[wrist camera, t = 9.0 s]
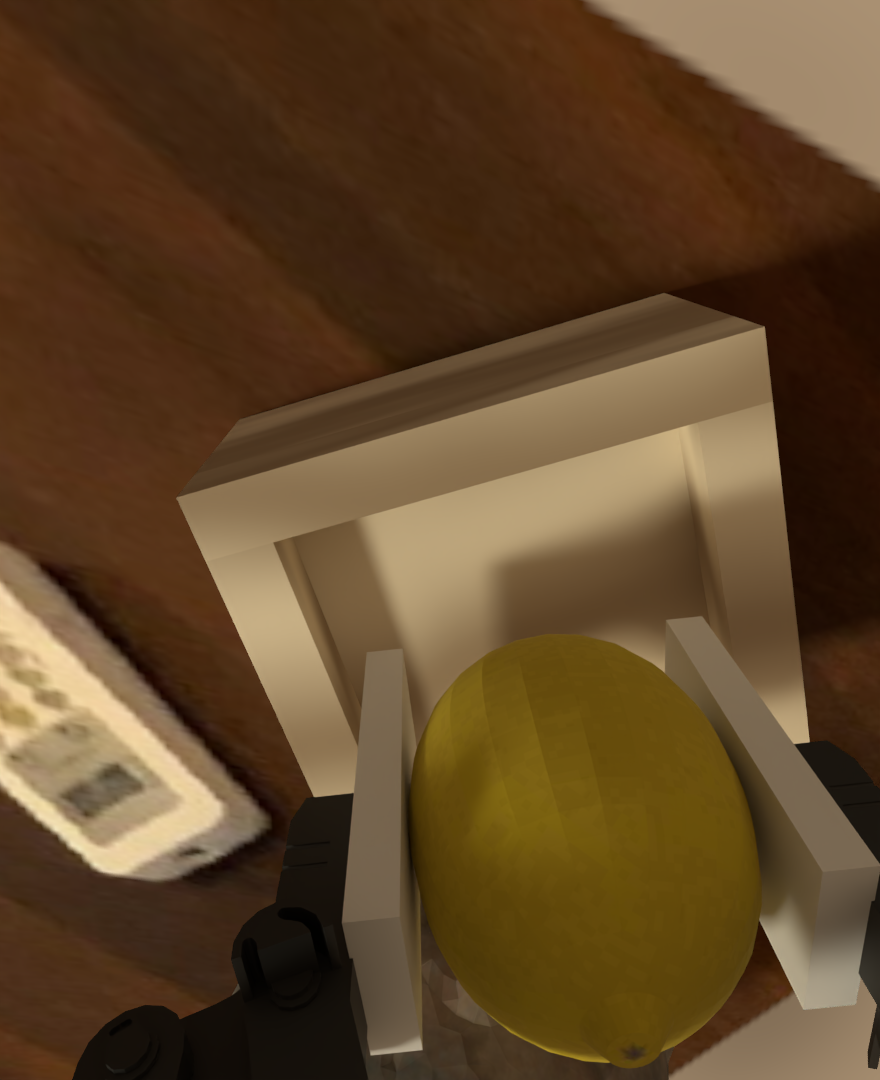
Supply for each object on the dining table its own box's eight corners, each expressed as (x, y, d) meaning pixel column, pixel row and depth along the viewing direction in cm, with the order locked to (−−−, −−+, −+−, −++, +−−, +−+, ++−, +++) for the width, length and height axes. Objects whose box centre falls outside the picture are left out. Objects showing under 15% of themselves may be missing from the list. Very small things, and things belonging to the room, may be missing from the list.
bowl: (687, 871, 29) (818, 1183, 19) (473, 1097, 34) (497, 1429, 25) (361, 724, 25) (334, 1016, 16) (178, 998, 30) (78, 1339, 21)
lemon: (699, 591, 16) (949, 928, 8) (614, 794, 18) (755, 1202, 11) (441, 540, 15) (469, 858, 8) (385, 757, 17) (365, 1166, 10)
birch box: (241, 417, 21) (176, 497, 15) (661, 292, 20) (764, 326, 14) (374, 744, 26) (363, 903, 20) (719, 656, 25) (815, 795, 19)
